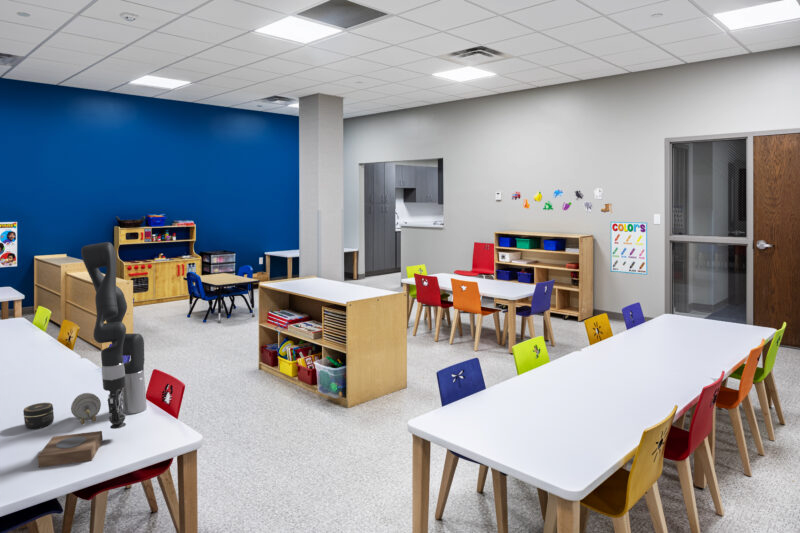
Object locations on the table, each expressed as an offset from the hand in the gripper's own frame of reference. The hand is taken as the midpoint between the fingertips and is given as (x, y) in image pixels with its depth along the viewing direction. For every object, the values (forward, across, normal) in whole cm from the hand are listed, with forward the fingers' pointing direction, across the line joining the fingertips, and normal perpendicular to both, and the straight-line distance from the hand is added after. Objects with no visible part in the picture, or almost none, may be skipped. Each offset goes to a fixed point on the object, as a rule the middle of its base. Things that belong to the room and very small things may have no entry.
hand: (117, 418), depth 204 cm
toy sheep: (+8, -23, -16) cm, 29 cm away
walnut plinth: (+7, +9, -13) cm, 18 cm away
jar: (+8, -24, -33) cm, 42 cm away
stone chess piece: (+3, 0, 0) cm, 3 cm away
